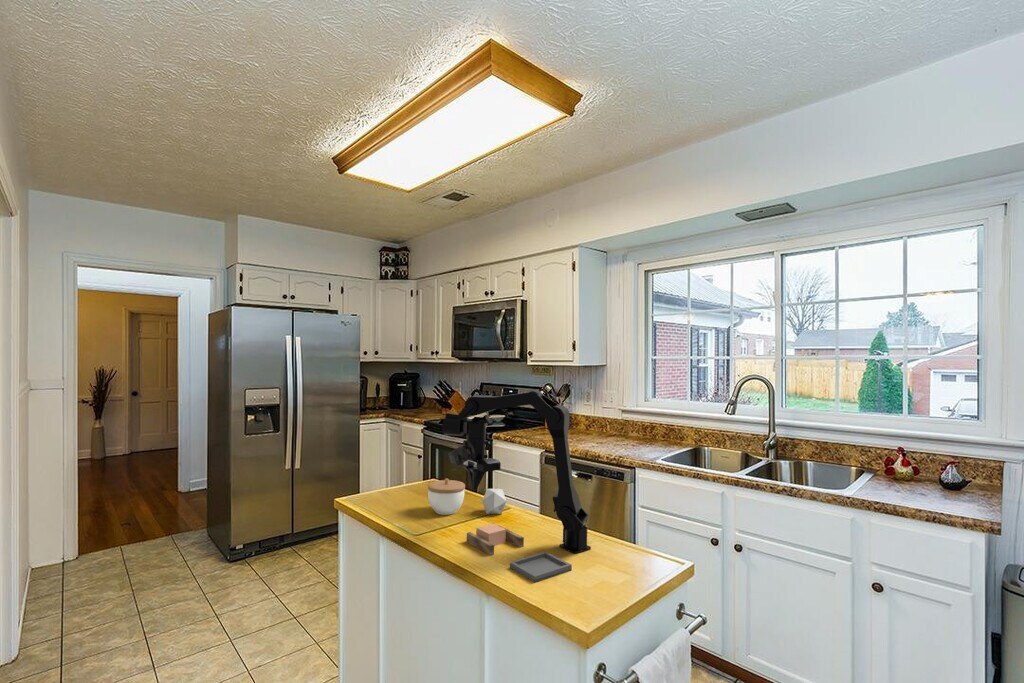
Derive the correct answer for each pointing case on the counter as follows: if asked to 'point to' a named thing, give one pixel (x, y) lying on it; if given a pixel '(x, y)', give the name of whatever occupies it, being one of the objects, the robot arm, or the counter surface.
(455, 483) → the lidded bowl
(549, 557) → the tray
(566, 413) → the robot arm
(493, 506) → the die
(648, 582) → the counter surface
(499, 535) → the block
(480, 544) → the corridor rails
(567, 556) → the counter surface
